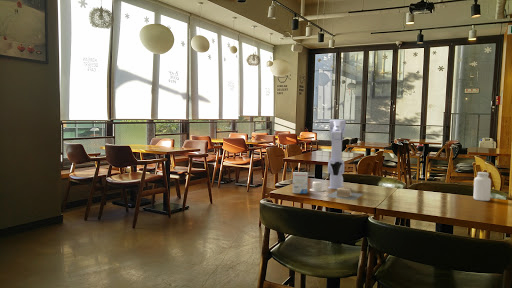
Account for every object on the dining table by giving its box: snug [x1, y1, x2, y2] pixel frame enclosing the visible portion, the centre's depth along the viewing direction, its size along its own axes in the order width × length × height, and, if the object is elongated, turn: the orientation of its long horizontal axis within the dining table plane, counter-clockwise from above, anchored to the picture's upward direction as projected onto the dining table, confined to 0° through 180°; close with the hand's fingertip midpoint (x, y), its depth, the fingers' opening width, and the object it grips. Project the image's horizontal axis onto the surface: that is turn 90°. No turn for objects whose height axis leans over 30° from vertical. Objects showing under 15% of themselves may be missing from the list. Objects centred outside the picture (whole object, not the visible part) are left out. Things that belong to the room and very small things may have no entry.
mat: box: [324, 190, 364, 201], centre depth 216 cm, size 20×16×1 cm
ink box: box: [292, 171, 309, 195], centre depth 223 cm, size 9×5×12 cm, turn 84°
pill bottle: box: [472, 171, 492, 202], centre depth 212 cm, size 8×8×15 cm
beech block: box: [336, 186, 352, 197], centre depth 214 cm, size 4×6×7 cm
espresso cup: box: [309, 181, 325, 192], centre depth 231 cm, size 9×9×5 cm
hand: (335, 175), depth 223 cm, fingers closed
